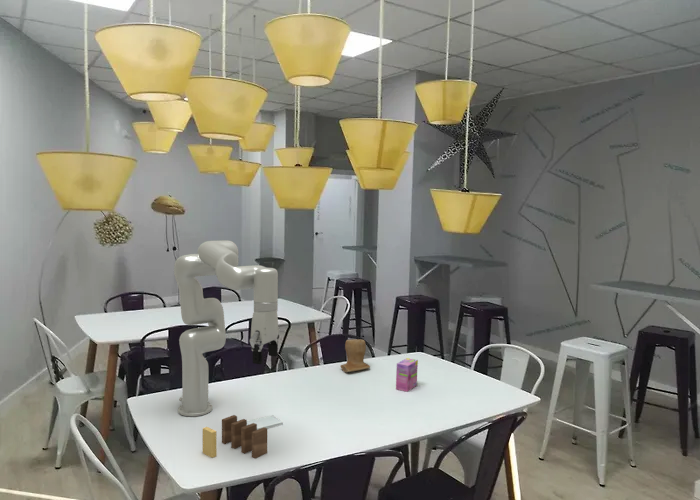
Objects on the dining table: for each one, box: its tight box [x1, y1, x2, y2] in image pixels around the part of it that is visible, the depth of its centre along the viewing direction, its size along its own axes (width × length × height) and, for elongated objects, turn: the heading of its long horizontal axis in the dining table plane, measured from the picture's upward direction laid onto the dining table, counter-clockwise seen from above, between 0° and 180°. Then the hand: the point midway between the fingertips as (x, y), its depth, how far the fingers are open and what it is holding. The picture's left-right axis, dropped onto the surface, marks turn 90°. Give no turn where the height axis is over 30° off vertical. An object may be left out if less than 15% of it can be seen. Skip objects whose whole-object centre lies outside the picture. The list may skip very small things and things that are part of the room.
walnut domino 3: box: [240, 423, 257, 454], centre depth 163 cm, size 2×5×8 cm, turn 141°
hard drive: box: [247, 414, 284, 430], centre depth 183 cm, size 2×8×12 cm
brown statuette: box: [340, 338, 371, 373], centre depth 251 cm, size 15×12×15 cm
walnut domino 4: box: [251, 427, 268, 460], centre depth 160 cm, size 2×5×8 cm, turn 141°
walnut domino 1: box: [221, 414, 238, 445], centre depth 170 cm, size 2×5×8 cm, turn 141°
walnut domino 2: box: [230, 418, 248, 450], centre depth 166 cm, size 2×5×8 cm, turn 141°
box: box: [395, 357, 419, 393], centre depth 226 cm, size 10×6×12 cm, turn 148°
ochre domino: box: [202, 426, 218, 459], centre depth 160 cm, size 2×5×8 cm, turn 51°
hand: (265, 359), depth 164 cm, fingers open, 9 cm apart
